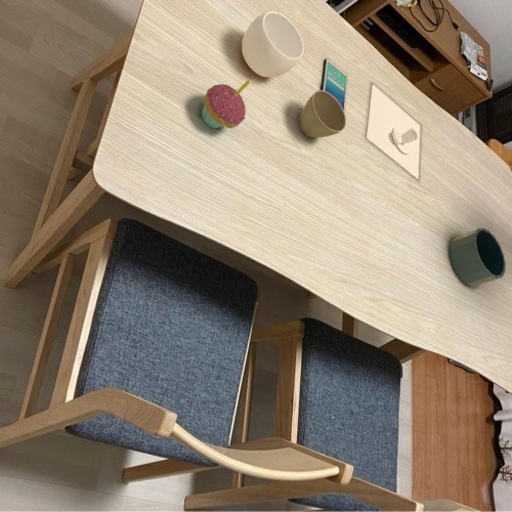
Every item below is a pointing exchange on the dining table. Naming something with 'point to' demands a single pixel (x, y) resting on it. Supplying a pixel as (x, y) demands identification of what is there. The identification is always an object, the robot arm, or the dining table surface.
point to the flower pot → (322, 115)
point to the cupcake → (224, 106)
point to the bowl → (477, 257)
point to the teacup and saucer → (394, 131)
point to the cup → (272, 45)
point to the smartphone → (335, 81)
